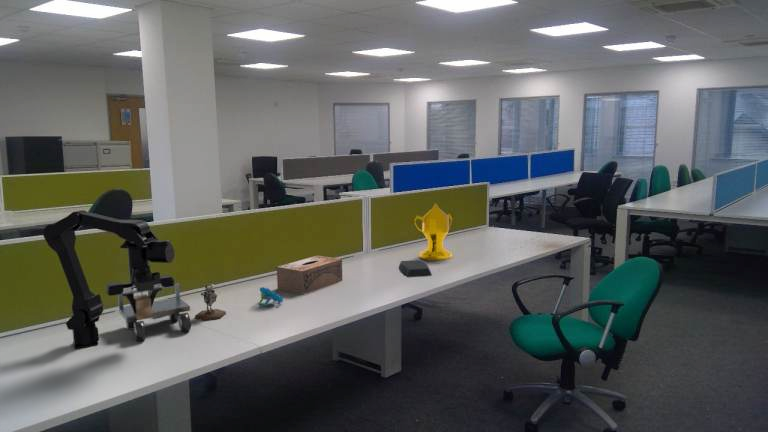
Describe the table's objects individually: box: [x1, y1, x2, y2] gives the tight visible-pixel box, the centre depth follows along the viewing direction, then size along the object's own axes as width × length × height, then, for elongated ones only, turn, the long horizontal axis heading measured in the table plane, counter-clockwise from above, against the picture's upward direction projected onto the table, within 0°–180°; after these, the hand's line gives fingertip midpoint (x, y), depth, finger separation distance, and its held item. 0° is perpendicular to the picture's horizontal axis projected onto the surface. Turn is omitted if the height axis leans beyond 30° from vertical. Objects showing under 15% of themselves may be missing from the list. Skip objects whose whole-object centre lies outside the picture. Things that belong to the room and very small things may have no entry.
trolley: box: [117, 283, 192, 342], centre depth 190 cm, size 20×20×12 cm
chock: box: [134, 294, 152, 321], centre depth 174 cm, size 4×6×6 cm, turn 35°
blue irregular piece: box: [258, 286, 284, 307], centre depth 216 cm, size 11×6×10 cm
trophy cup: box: [413, 203, 453, 261], centre depth 296 cm, size 18×24×28 cm
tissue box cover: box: [276, 255, 343, 295], centre depth 244 cm, size 26×14×10 cm, turn 146°
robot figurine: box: [194, 283, 227, 322], centre depth 204 cm, size 11×9×12 cm
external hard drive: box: [398, 259, 433, 278], centre depth 267 cm, size 13×19×4 cm
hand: (142, 311), depth 174 cm, fingers closed on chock, 4 cm apart
